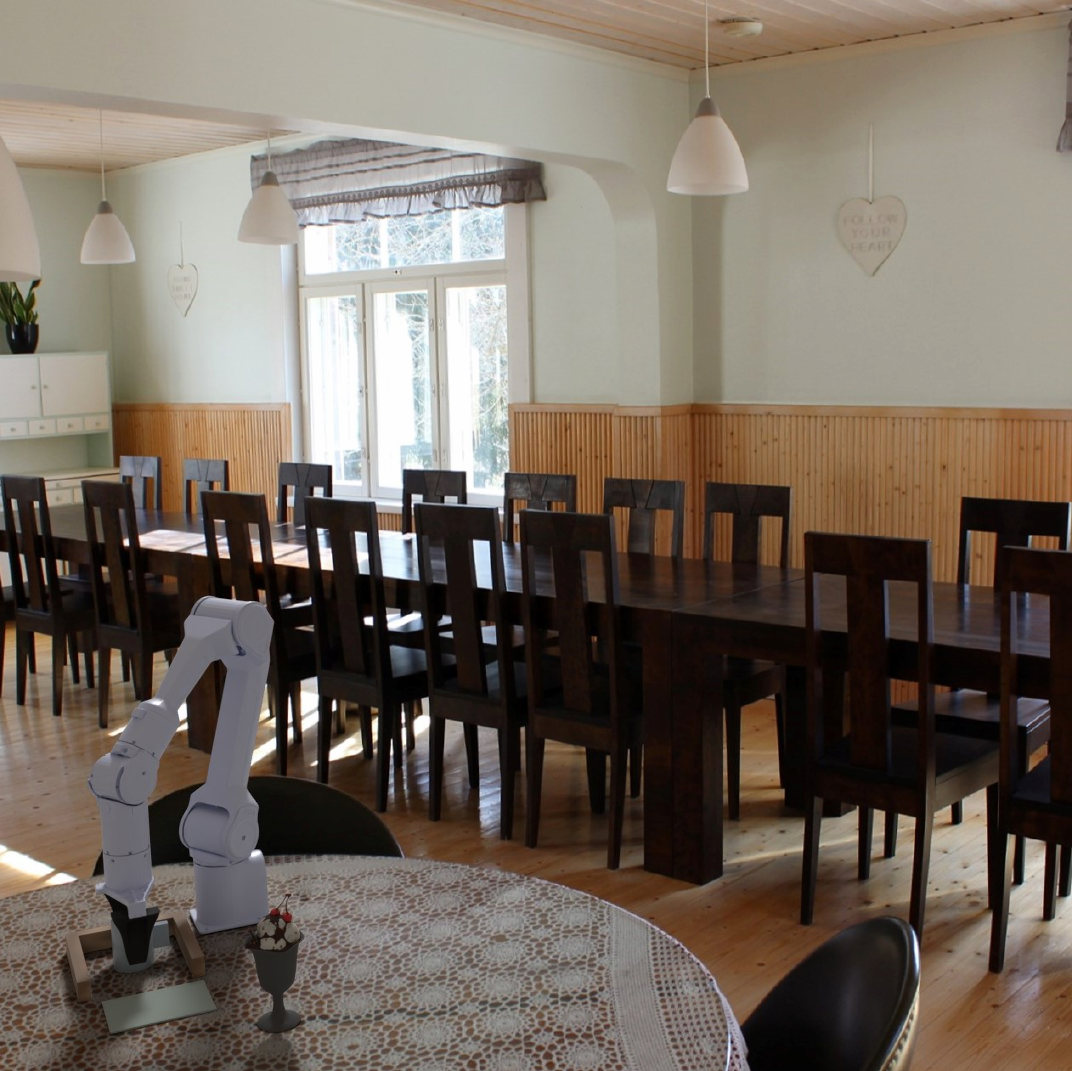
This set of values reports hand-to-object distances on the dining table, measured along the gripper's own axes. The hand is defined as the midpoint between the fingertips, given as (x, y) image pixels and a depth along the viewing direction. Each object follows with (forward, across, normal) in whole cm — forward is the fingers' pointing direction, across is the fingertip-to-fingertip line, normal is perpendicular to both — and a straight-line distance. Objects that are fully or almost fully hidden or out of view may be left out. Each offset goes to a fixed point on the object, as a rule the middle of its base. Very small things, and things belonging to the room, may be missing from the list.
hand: (133, 950), depth 165 cm
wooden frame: (+2, 0, 0) cm, 2 cm away
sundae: (+2, +23, +13) cm, 26 cm away
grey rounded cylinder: (+2, 0, 0) cm, 2 cm away
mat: (+2, +13, +1) cm, 13 cm away
